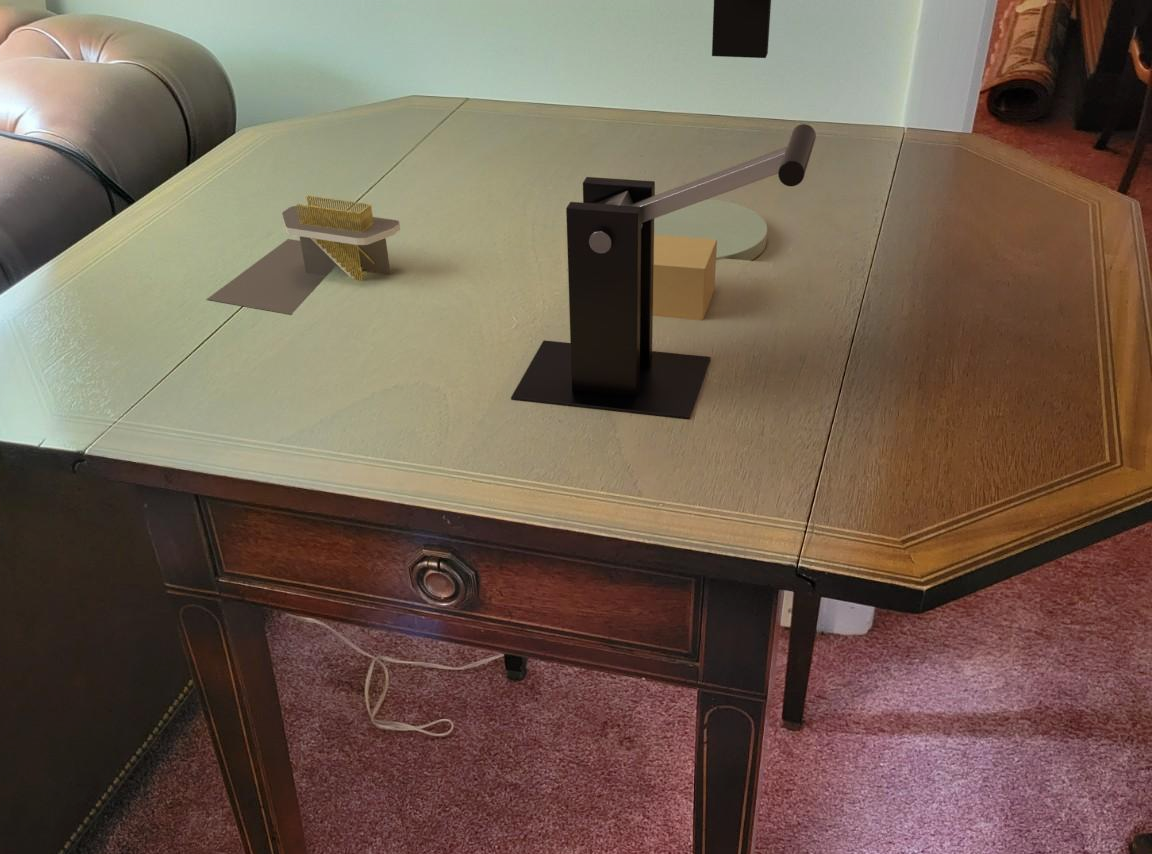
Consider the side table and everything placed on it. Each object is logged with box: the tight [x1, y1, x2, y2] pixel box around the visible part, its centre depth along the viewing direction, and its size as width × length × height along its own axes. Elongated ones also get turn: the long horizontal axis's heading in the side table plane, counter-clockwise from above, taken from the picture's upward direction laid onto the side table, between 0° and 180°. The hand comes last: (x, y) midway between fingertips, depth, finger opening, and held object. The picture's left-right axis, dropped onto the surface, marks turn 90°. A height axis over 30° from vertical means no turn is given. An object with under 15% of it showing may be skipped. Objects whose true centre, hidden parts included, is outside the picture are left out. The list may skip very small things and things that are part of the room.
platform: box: [206, 195, 401, 315], centre depth 95 cm, size 12×18×7 cm, turn 67°
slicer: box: [510, 176, 712, 420], centre depth 78 cm, size 12×8×14 cm, turn 75°
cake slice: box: [653, 235, 717, 321], centre depth 90 cm, size 5×5×5 cm
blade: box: [595, 123, 817, 228], centre depth 73 cm, size 14×6×2 cm, turn 75°
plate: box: [654, 198, 769, 262], centre depth 101 cm, size 12×12×1 cm
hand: (759, 17), depth 66 cm, fingers open, 13 cm apart
